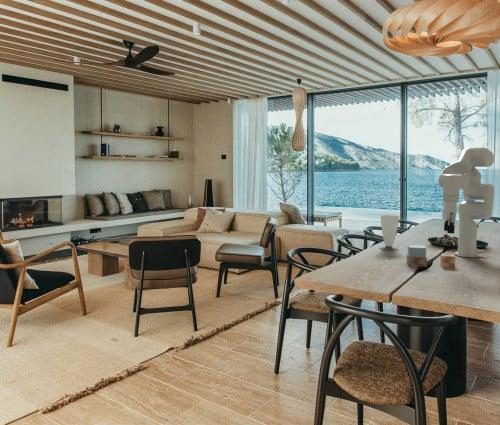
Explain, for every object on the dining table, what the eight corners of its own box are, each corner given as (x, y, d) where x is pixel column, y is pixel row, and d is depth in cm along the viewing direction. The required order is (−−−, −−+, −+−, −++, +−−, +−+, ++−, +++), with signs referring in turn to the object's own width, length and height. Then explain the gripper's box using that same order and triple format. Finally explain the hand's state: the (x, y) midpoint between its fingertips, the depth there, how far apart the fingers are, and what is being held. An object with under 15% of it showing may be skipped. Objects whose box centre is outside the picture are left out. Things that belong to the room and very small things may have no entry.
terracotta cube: (452, 265, 236) (453, 254, 235) (454, 268, 230) (455, 256, 230) (440, 265, 238) (440, 253, 237) (442, 267, 232) (442, 256, 231)
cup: (375, 248, 286) (376, 214, 283) (391, 247, 289) (392, 213, 287) (386, 251, 275) (387, 216, 273) (402, 250, 278) (403, 215, 276)
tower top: (423, 254, 240) (424, 245, 240) (425, 257, 233) (426, 248, 232) (407, 254, 242) (408, 244, 242) (409, 256, 234) (409, 247, 234)
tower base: (424, 264, 241) (424, 254, 241) (426, 267, 232) (427, 258, 232) (406, 263, 243) (407, 253, 243) (408, 266, 235) (408, 257, 234)
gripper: (440, 197, 240) (438, 229, 241) (445, 199, 223) (444, 233, 224) (455, 198, 238) (453, 230, 239) (462, 200, 221) (460, 234, 223)
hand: (448, 232), depth 232 cm, fingers open, 9 cm apart
